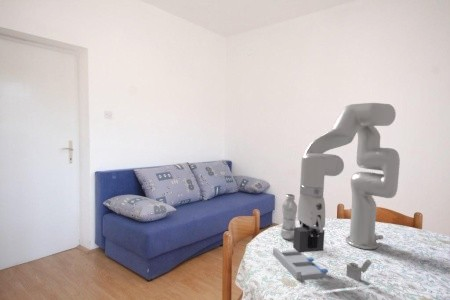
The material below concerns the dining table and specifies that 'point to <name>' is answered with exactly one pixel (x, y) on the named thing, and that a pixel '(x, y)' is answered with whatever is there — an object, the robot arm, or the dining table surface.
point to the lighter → (357, 270)
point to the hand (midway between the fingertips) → (308, 244)
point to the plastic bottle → (289, 217)
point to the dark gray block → (306, 240)
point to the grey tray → (299, 264)
